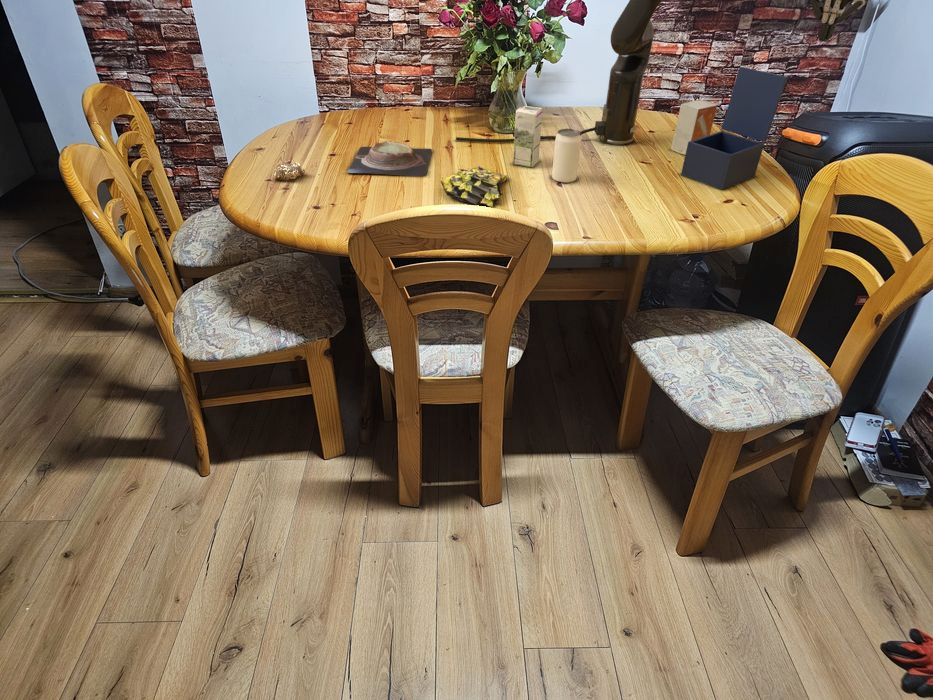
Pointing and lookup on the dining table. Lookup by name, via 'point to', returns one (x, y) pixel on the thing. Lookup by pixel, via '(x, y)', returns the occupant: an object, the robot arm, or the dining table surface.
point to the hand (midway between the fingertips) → (823, 40)
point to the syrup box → (527, 136)
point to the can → (566, 155)
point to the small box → (693, 123)
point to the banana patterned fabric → (474, 186)
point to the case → (722, 159)
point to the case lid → (753, 103)
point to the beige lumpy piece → (288, 171)
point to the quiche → (391, 160)
